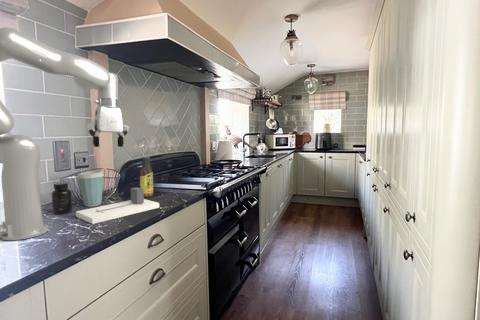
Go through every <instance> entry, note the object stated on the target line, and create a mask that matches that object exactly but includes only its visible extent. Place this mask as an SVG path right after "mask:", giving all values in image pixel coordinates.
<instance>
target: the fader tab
mask: <svg viewBox="0 0 480 320" xmlns="http://www.w3.org/2000/svg"><path fill="white" fill-rule="evenodd" d="M144 199H145V197H144V192H143V189H142V188H140V187H137V186H136V187H131V188H130V200H131V202H132V203H136V204H140V203H144Z"/></svg>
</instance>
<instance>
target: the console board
mask: <svg viewBox="0 0 480 320" xmlns="http://www.w3.org/2000/svg"><path fill="white" fill-rule="evenodd" d="M158 208H160V202H157V201H153V200H149V199H145V198H144V203H140V204H136V203H132V202H131V199H130V200H125V201H120V202H116V203H111V204H107V205H106V204H105V205H99V206H94V207H91V208H86V209H82V210H77V211H75V217H76V218H78V219H80V220H82V221H85V222H88V223H90V224H92V225H93V224H97V223H98V224H99V223H102V222H106V221H110V220H114V219H118V218H123V217H127V216H130V215H134V214H138V213H142V212H147V211H150V210H151V211H152V210H155V209H158Z"/></svg>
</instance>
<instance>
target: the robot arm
mask: <svg viewBox="0 0 480 320" xmlns="http://www.w3.org/2000/svg"><path fill="white" fill-rule="evenodd" d="M7 60H15V61H17V62H20V63H23V64H24V65H28V66H29V67H31V68H34V69H37V70H39V71H42V72H44V73H46V74H53V75H59V76H61V75H62V76H71V77H73V80H74V83H75V84H76V85H77V86H78V87H79V88H80V89H84V90H97V99H95V100H94V101H93V102H94V104H96V105H97V106H96V108H95V113H94V118H93V119H94V120H93V121H92V122H90V123H87V124H85V128H86V130H87V132H88V133H89V134H90V135H91V137H92V144H93V147H95V148H100V136H99V135H100V134H101V133H115V134H116V135H117V136H118V137H117V147H118V148H119V147H120V148H122V147H123V148H124V140H125V139H124V138H125V136H127V134H128V132H129V129H130V126H128V125H126V124H124V120H123V114H122V113H123V112H122V110H121V109H122V108H119V76H118V75H117V74H116V73H115V72H114V73H113V72H110V71H109V70H107V69H106V68H105V66H103V65H101V64H99V63H96V62H95V61H93V60H91V59H89V58H86V57H83V56H82V55H81V56H80V55H77V54H74V53H71V52H67V51H65V50H60V49H57V48H54V47H52V46H51V45H48V44H46V43H44V42H42V41H40V40H39V39H36V38H34V37H32V36H30V35H28V34H26V33H24V32H22V31H19V30H18V29H15V28H12V27H7V26H5V27H0V63H1V62H4V61H7ZM14 127H15V120H14V117H13V115H12V113H11V112H10V111H9V110H8V109H7V107H6V106H5V105H4V103H3V102H2V100H0V164H2V169H1V189H2V190H1V191H2V199H3V201H2V202H3V209H4V211H3V212H4V221H2V223H1V224H0V239H1V240H4V241H18V240H27V239H31V238H36V237H38V236H42V235H43V234H46V233H47V232H48V231H49V229H50V228H49V225H48V224H44V223H43V212H42V211H43V210H42V199H41V198H42V197H41V196H42V195H41V194H42V193H41V186H40V185H41V184H40V162H41V149H40V146H39V144H38V143H37V141H36V140H35V139H33V138H32V137H29V136H27V135H23V134H12V132H11V131H12V130H13V128H14ZM92 127H93V129H94V130H93V129H92Z"/></svg>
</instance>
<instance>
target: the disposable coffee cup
mask: <svg viewBox="0 0 480 320" xmlns="http://www.w3.org/2000/svg"><path fill="white" fill-rule="evenodd" d="M104 177H105V173H104V172H103V170H97V169H96V170H89V171H84V172H80V173H78V175H77V181H78V183H79V184H78V185H79V189H80V193H81V197H82V201H83V205H84V206H85V207H88V208H89V207H91V208H92V207H99V206H101V204H102V199H103V190H104V189H103V187H104Z"/></svg>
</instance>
